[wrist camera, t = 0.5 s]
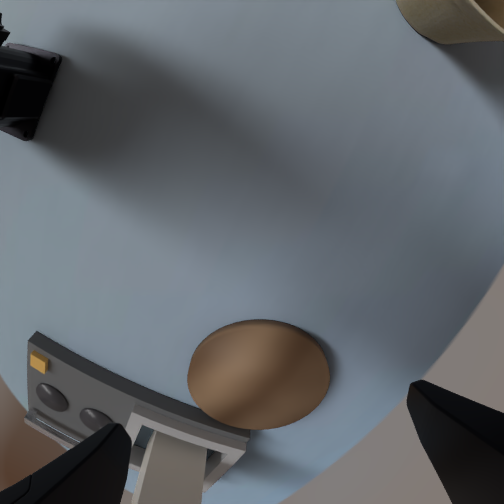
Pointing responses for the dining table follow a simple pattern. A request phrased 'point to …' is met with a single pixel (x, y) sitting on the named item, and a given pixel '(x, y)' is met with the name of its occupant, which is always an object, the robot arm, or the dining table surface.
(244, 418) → the disc
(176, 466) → the white carton with cap
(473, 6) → the flower pot
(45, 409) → the grey control panel
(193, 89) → the dining table surface
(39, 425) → the lever
